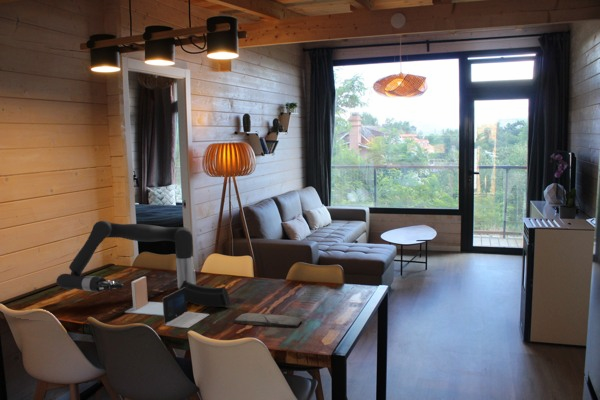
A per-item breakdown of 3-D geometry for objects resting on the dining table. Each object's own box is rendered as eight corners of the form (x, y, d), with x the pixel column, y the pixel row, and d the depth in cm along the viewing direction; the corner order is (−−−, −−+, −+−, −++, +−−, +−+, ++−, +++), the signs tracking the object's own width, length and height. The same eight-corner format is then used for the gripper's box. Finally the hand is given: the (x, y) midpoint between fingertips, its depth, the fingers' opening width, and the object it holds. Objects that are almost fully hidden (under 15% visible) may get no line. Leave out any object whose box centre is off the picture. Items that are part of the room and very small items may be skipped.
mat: (124, 312, 254) (124, 311, 254) (144, 302, 269) (144, 301, 269) (163, 315, 248) (162, 314, 248) (180, 304, 263) (180, 304, 263)
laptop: (187, 329, 231) (186, 300, 229) (164, 326, 235) (162, 298, 234) (209, 315, 247) (208, 288, 246) (186, 313, 252) (185, 286, 250)
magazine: (234, 289, 255) (186, 267, 267) (230, 291, 252) (182, 268, 264) (227, 321, 259) (180, 297, 271) (224, 323, 257) (176, 299, 268)
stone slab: (297, 324, 226) (233, 316, 235) (297, 331, 226) (233, 323, 236) (304, 317, 236) (243, 309, 245) (304, 323, 236) (243, 316, 245)
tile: (133, 310, 256) (131, 282, 254) (145, 303, 266) (143, 276, 264) (136, 310, 256) (134, 282, 254) (148, 303, 265) (146, 276, 263)
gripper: (84, 280, 261) (114, 282, 255) (101, 273, 273) (130, 275, 268) (85, 294, 262) (115, 297, 256) (102, 287, 274) (131, 289, 269)
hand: (122, 286), depth 262 cm, fingers closed
